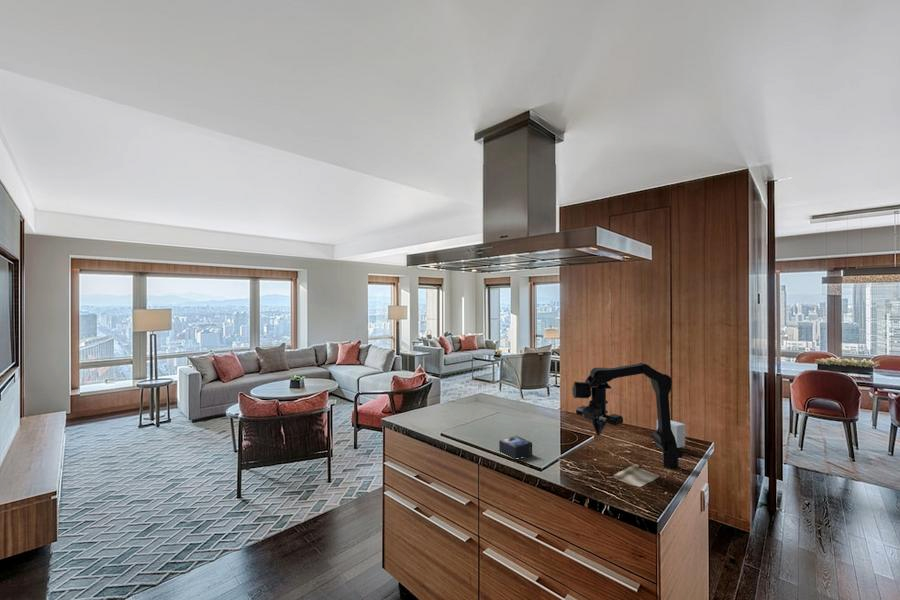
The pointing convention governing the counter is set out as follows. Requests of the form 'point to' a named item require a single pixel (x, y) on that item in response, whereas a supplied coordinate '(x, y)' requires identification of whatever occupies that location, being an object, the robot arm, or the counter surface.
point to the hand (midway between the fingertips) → (598, 435)
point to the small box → (515, 447)
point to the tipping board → (635, 476)
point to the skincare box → (678, 432)
